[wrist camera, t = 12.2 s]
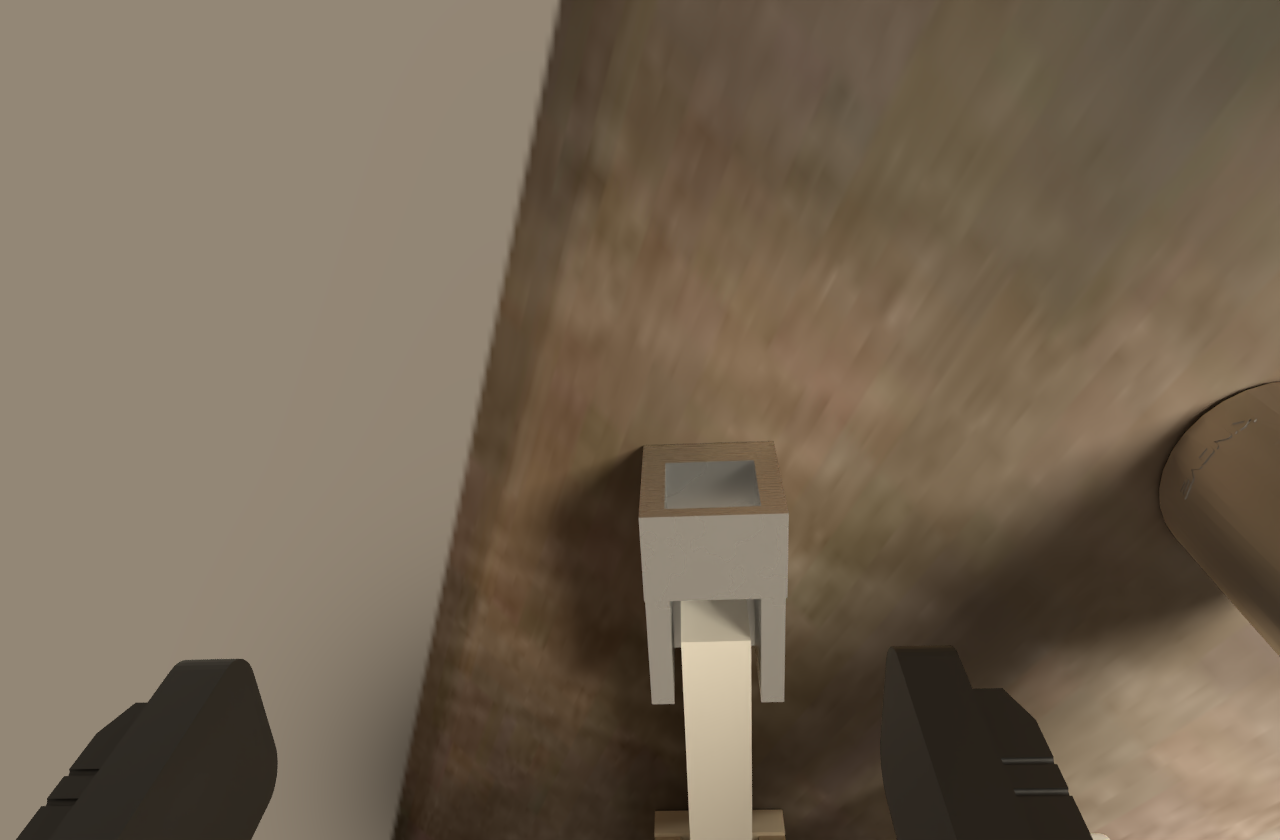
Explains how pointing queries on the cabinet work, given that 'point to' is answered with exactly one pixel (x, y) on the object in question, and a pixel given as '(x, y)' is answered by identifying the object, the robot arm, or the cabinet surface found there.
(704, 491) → the grey slotted channel block
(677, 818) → the socket
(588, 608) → the cabinet surface
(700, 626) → the cream square bar
